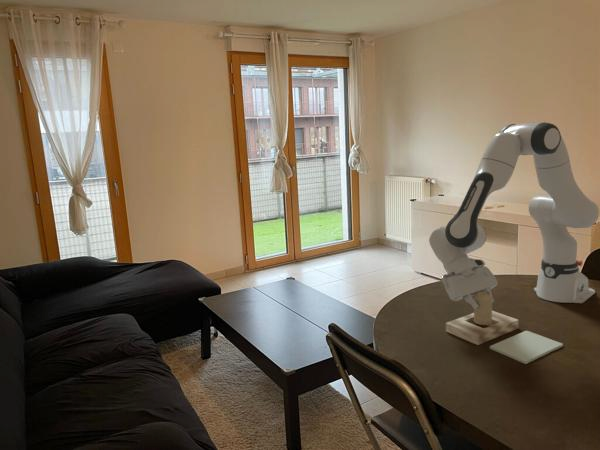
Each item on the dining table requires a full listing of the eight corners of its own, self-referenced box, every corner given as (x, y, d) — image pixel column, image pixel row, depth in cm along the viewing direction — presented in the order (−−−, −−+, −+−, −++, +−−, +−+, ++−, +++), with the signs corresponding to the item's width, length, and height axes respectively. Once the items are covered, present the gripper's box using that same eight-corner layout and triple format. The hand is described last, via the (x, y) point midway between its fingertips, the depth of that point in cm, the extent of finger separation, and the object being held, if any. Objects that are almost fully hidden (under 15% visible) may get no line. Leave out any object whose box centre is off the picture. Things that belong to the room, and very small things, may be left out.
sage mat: (526, 332, 151) (526, 330, 151) (562, 346, 141) (563, 343, 141) (489, 348, 142) (489, 346, 142) (525, 364, 132) (525, 361, 132)
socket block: (485, 316, 165) (485, 308, 165) (518, 328, 154) (518, 319, 154) (445, 331, 156) (445, 322, 155) (477, 345, 145) (477, 336, 144)
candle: (493, 325, 151) (493, 296, 149) (475, 325, 152) (475, 296, 150) (490, 318, 156) (490, 290, 154) (472, 318, 158) (473, 290, 156)
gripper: (444, 271, 151) (468, 308, 145) (486, 259, 161) (510, 293, 155) (434, 281, 156) (457, 317, 150) (475, 268, 166) (498, 302, 160)
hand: (484, 305), depth 153 cm, fingers closed on candle, 5 cm apart
